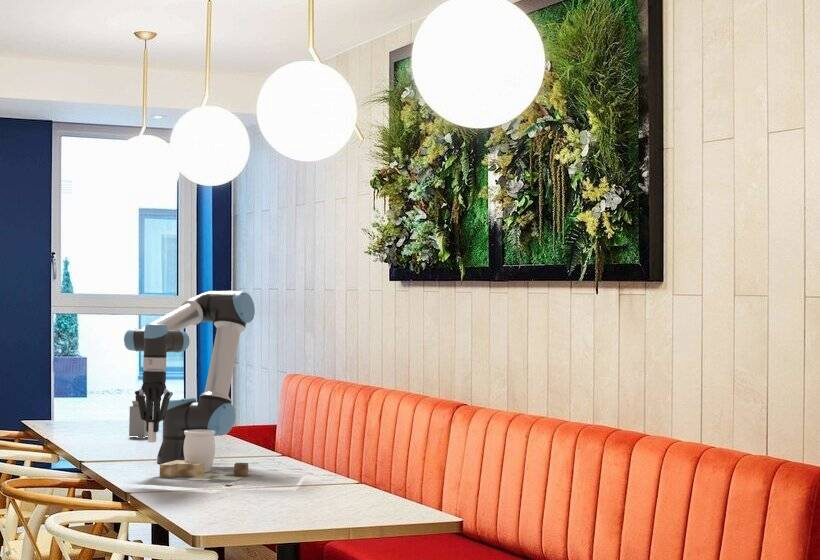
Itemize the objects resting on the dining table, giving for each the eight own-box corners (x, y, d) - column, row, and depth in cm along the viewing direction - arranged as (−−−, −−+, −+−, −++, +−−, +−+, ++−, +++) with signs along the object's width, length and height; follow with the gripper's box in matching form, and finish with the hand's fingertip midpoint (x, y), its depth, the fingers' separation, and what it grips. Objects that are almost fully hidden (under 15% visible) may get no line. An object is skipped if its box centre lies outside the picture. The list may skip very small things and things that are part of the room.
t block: (159, 476, 361) (159, 464, 361) (176, 472, 372) (177, 460, 372) (193, 478, 357) (193, 466, 358) (209, 474, 369) (210, 461, 369)
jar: (176, 476, 375) (177, 431, 375) (193, 472, 384) (194, 428, 385) (204, 478, 371) (205, 432, 371) (220, 474, 380) (221, 430, 381)
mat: (152, 481, 358) (152, 477, 358) (178, 474, 375) (178, 470, 375) (229, 486, 351) (229, 482, 351) (252, 478, 368) (252, 475, 368)
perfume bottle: (134, 436, 488) (136, 394, 488) (149, 436, 487) (150, 395, 487) (128, 437, 481) (130, 396, 482) (143, 438, 480) (144, 396, 481)
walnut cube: (234, 476, 365) (234, 464, 365) (236, 474, 369) (236, 462, 369) (246, 476, 365) (246, 464, 365) (248, 475, 369) (248, 462, 369)
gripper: (131, 370, 367) (128, 442, 366) (166, 371, 364) (164, 444, 363) (142, 369, 375) (140, 440, 373) (177, 370, 371) (175, 442, 370)
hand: (152, 441), depth 368 cm, fingers closed
